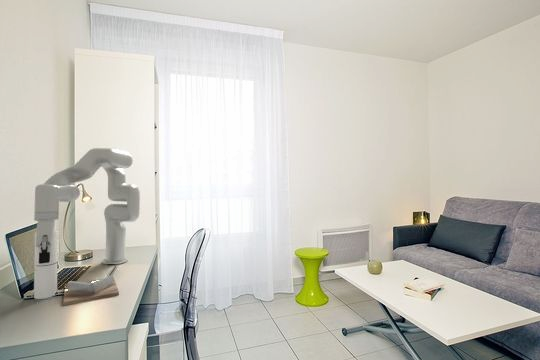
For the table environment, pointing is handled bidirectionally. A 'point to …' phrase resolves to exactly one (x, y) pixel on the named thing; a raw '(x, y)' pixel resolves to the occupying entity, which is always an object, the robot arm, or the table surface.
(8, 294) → the table surface
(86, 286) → the v cradle
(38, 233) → the robot arm
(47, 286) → the cylindrical container
